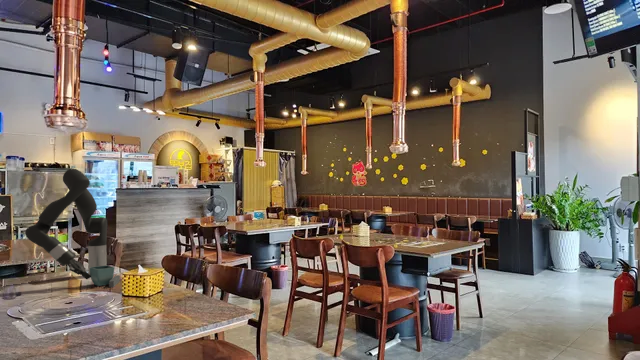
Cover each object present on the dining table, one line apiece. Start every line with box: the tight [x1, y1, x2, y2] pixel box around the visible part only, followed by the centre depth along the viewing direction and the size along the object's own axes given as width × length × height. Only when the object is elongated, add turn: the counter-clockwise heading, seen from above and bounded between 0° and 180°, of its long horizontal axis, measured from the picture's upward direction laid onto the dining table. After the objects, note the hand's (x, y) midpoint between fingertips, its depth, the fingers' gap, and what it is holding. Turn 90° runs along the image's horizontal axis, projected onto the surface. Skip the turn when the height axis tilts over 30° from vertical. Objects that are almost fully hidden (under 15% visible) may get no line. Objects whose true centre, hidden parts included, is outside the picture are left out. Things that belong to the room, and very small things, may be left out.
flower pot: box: [90, 265, 116, 287], centre depth 211 cm, size 9×9×9 cm
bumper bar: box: [108, 274, 121, 288], centre depth 212 cm, size 2×16×3 cm, turn 16°
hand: (89, 277), depth 209 cm, fingers closed
